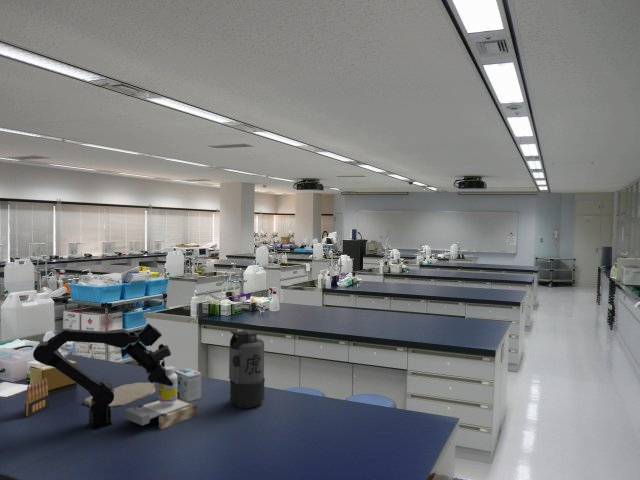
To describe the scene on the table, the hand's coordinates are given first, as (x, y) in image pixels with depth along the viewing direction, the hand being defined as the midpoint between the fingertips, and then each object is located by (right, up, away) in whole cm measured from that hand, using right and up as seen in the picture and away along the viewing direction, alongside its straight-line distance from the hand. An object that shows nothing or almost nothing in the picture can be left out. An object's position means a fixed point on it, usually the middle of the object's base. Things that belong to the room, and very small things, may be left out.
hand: (172, 382), depth 183 cm
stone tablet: (-26, -13, +20) cm, 36 cm away
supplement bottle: (-1, -7, 0) cm, 7 cm away
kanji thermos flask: (+26, -13, +15) cm, 33 cm away
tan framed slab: (-2, -13, -1) cm, 13 cm away
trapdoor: (-4, -10, -4) cm, 12 cm away
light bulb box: (0, -13, +21) cm, 24 cm away
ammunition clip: (-53, -12, +2) cm, 54 cm away
